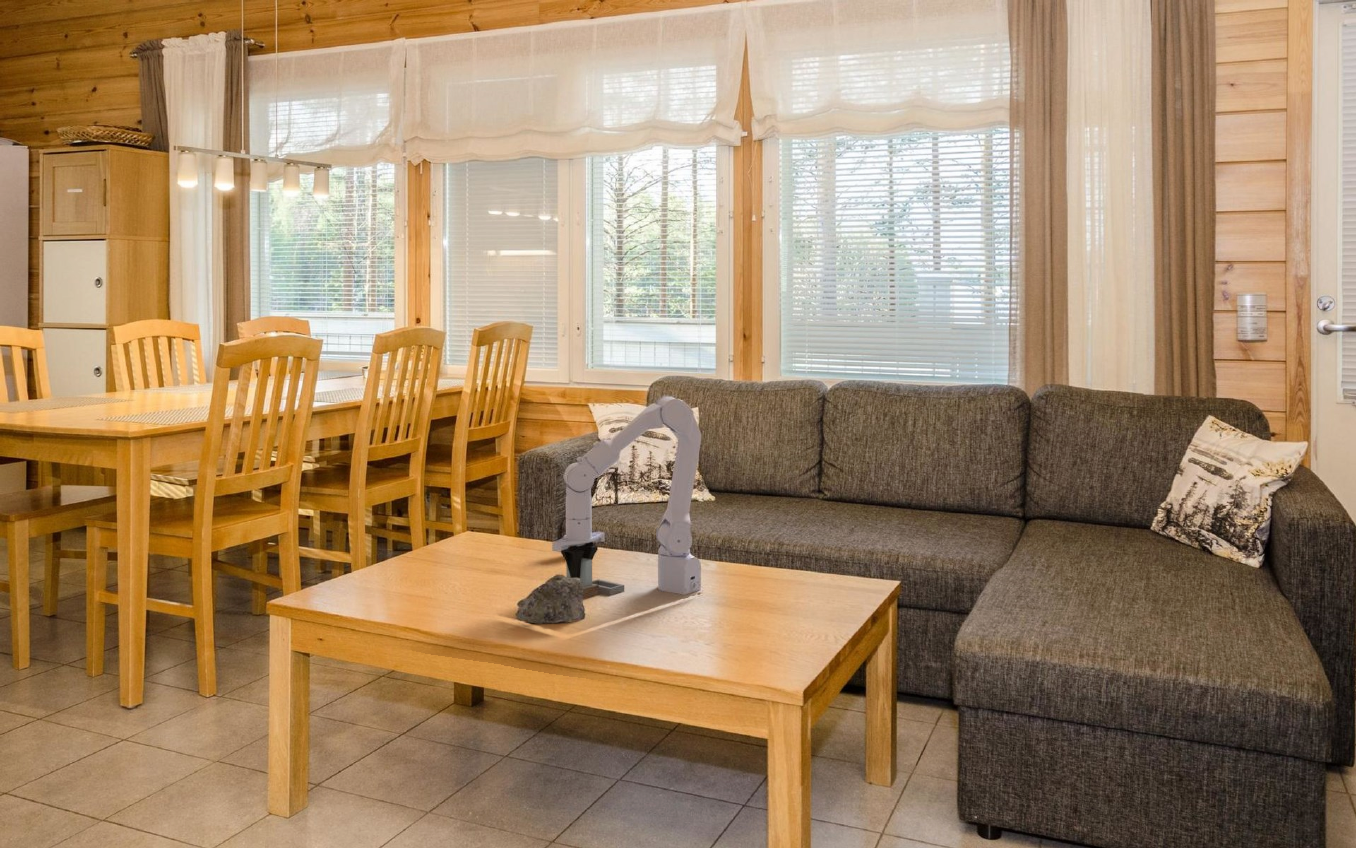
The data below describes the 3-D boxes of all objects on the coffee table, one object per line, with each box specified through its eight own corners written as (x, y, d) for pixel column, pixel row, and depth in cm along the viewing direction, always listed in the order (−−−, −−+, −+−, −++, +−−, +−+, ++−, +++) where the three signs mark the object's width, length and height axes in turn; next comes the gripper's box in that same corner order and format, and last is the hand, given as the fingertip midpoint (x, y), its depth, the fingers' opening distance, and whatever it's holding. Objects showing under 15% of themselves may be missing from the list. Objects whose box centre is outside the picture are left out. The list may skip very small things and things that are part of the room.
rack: (598, 598, 239) (598, 584, 239) (577, 604, 234) (577, 590, 234) (571, 591, 245) (571, 578, 244) (550, 597, 240) (550, 584, 239)
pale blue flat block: (592, 590, 239) (592, 559, 239) (585, 592, 238) (585, 561, 237) (572, 586, 243) (572, 555, 242) (566, 588, 242) (566, 557, 241)
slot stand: (624, 594, 242) (624, 585, 242) (610, 598, 239) (610, 589, 239) (598, 588, 248) (598, 579, 247) (584, 592, 244) (584, 583, 244)
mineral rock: (513, 627, 217) (513, 578, 216) (531, 613, 228) (530, 566, 227) (575, 632, 215) (575, 582, 214) (590, 617, 225) (590, 569, 224)
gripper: (588, 510, 247) (589, 569, 248) (542, 520, 236) (542, 581, 237) (611, 514, 242) (611, 574, 244) (565, 524, 231) (565, 586, 233)
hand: (579, 578), depth 240 cm, fingers closed on pale blue flat block, 2 cm apart
